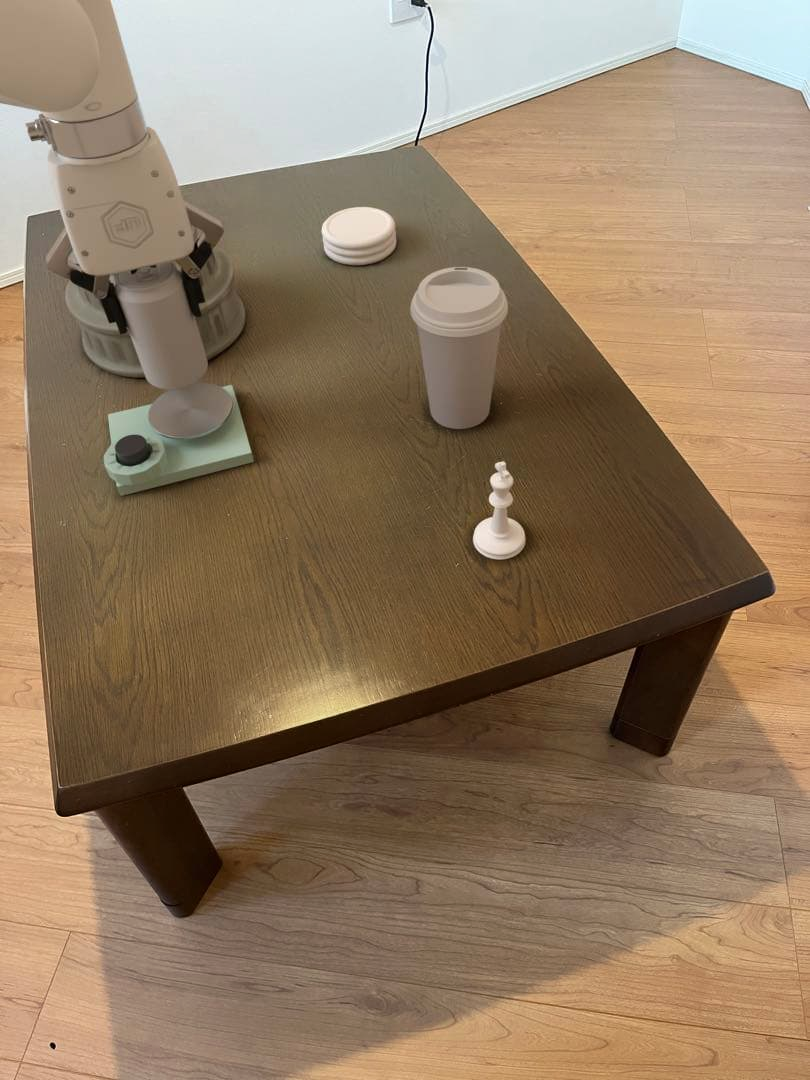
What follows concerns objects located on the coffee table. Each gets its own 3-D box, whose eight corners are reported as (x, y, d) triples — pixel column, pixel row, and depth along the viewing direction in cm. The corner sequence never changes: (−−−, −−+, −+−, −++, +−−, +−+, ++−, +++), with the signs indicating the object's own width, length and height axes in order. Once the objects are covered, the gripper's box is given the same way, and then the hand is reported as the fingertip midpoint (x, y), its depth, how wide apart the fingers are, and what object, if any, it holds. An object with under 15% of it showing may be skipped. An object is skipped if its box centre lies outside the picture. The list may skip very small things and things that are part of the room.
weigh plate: (153, 448, 85) (152, 446, 85) (144, 395, 91) (143, 393, 91) (239, 427, 87) (239, 424, 86) (225, 376, 92) (224, 374, 92)
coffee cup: (517, 395, 92) (524, 274, 81) (481, 449, 87) (483, 327, 75) (440, 373, 95) (436, 254, 84) (400, 423, 90) (391, 304, 79)
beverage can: (199, 349, 88) (168, 244, 79) (217, 382, 84) (187, 276, 75) (140, 368, 86) (102, 263, 77) (156, 402, 82) (118, 297, 73)
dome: (211, 144, 81) (-3, 186, 77) (260, 355, 100) (90, 396, 96) (181, 71, 93) (-3, 106, 90) (230, 271, 112) (79, 305, 109)
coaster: (310, 256, 114) (306, 232, 111) (350, 222, 119) (348, 199, 116) (371, 274, 110) (368, 249, 107) (410, 238, 115) (408, 214, 113)
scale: (115, 501, 85) (106, 480, 83) (106, 424, 93) (97, 404, 91) (255, 465, 87) (249, 444, 85) (234, 394, 95) (229, 372, 93)
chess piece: (490, 567, 76) (492, 491, 69) (463, 532, 79) (463, 456, 72) (535, 546, 78) (543, 470, 70) (507, 513, 81) (511, 436, 73)
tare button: (120, 470, 84) (115, 458, 83) (118, 449, 86) (113, 438, 85) (152, 462, 84) (147, 450, 83) (149, 442, 87) (144, 430, 85)
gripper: (-16, 167, 63) (70, 361, 76) (211, 124, 65) (255, 318, 79) (-14, 128, 68) (67, 317, 81) (197, 89, 70) (241, 278, 84)
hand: (159, 316), depth 80 cm, fingers closed on beverage can, 6 cm apart
